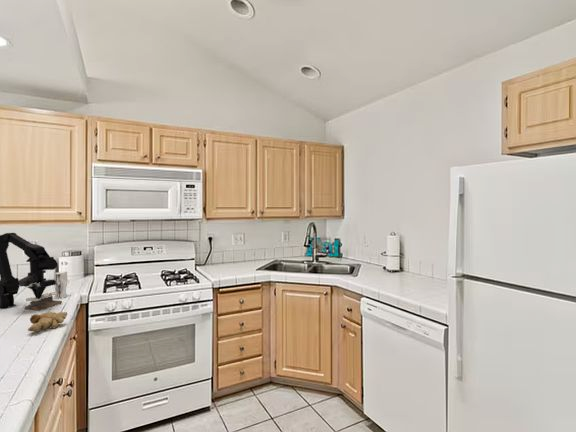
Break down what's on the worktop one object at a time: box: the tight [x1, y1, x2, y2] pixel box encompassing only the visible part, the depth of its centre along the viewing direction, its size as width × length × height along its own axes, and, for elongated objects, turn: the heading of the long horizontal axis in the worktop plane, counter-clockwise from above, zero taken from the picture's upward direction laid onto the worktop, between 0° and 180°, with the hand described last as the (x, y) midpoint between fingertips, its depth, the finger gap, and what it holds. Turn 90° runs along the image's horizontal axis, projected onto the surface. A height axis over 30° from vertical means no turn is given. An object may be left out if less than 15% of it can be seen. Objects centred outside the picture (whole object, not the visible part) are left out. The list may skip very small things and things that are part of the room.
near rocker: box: [25, 296, 41, 302], centre depth 178 cm, size 7×3×1 cm, turn 75°
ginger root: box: [27, 311, 68, 333], centre depth 150 cm, size 16×16×8 cm
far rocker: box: [45, 291, 57, 298], centre depth 186 cm, size 7×3×1 cm, turn 75°
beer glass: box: [53, 271, 68, 299], centre depth 200 cm, size 7×7×15 cm
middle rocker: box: [41, 293, 50, 299], centre depth 182 cm, size 7×3×1 cm, turn 75°
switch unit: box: [24, 295, 63, 311], centre depth 182 cm, size 10×13×4 cm
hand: (38, 298), depth 177 cm, fingers closed
